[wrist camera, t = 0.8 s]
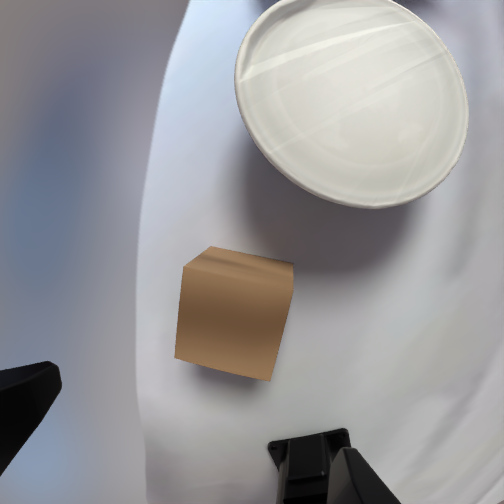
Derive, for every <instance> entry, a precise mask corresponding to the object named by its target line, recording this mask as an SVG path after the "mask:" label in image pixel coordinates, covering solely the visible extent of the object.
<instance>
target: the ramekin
mask: <svg viewBox="0 0 504 504" xmlns="http://www.w3.org/2000/svg"><path fill="white" fill-rule="evenodd" d="M234 83H235V94H236V100H237V104H238V108H239V111H240V114H241V117H242V119H243V122H244V124H245V126H246V128H247V130H248V132H249V134H250V136H251V137H252V139H253V141H254V142H255V144H256V145H257V147H258V148H259V150H260V151H261V152H262V154H263V155H264V156H265V157H266V158H267V160H268V161H269V162H270V163H271V164H272V165H273V166H274V167H275V168H276V169H277V170H278V171H279V172H280V173H282V174H283V175H284V176H285V177H287V178H288V179H289V180H290V181H292V182H293V183H295V184H296V185H297V186H299V187H301V188H302V189H304V190H306V191H308V192H309V193H311V194H313V195H315V196H317V197H320V198H322V199H325V200H328V201H331V202H333V203H337V204H341V205H345V206H350V207H356V208H365V209H374V210H375V209H382V208H389V207H395V206H399V205H403V204H406V203H409V202H411V201H414V200H416V199H419V198H421V197H423V196H424V195H426V194H428V193H429V192H431V191H432V190H433V189H434V188H436V187H437V186H438V185H439V184H440V183H441V182H442V181H443V180H444V179H445V178H446V177H447V176H448V175H449V174H450V172H451V170H452V169H453V168H454V166H455V165H456V163H457V162H458V160H459V158H460V156H461V153H462V151H463V148H464V144H465V140H466V136H467V131H468V124H469V109H468V99H467V94H466V89H465V85H464V81H463V78H462V76H461V73H460V71H459V69H458V66H457V64H456V62H455V60H454V59H453V57H452V55H451V53H450V52H449V50H448V49H447V47H446V46H445V44H444V43H443V42H442V40H441V39H440V38H439V36H438V35H437V34H436V33H435V32H434V31H433V30H432V28H430V27H429V26H428V25H427V24H426V23H425V22H424V21H423V20H421V19H420V18H419V17H418V16H416V15H415V14H414V13H412V12H411V11H409V10H408V9H406V8H405V7H403V6H401V5H399V4H398V3H396V2H394V1H392V0H281V1H279V2H277V3H276V4H274V5H273V6H271V7H270V8H268V9H267V10H266V11H265V12H264V13H263V14H261V15H260V17H259V18H258V19H257V20H256V21H255V22H254V23H253V25H252V26H251V27H250V29H249V30H248V32H247V33H246V35H245V37H244V39H243V41H242V43H241V46H240V48H239V51H238V54H237V58H236V64H235V75H234Z"/></svg>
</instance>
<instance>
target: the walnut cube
mask: <svg viewBox="0 0 504 504" xmlns="http://www.w3.org/2000/svg"><path fill="white" fill-rule="evenodd" d="M292 294H293V263H289V262H284V261H279V260H274V259H269V258H265V257H260V256H255V255H250V254H246V253H241V252H236V251H231V250H226V249H222V248H217V247H212V246H211V247H209V248H208V249H207V250H205V251H204V252H203V253H201V254H200V255H198V256H197V257H196V258H194V259H193V260H192V261H190V262H189V263H188V264H186V265H185V266H184V267H183V275H182V284H181V293H180V302H179V312H178V322H177V333H176V345H175V358H176V359H180V360H183V361H187V362H190V363H194V364H198V365H201V366H205V367H209V368H213V369H217V370H221V371H225V372H229V373H233V374H237V375H242V376H246V377H251V378H256V379H260V380H265V381H270V379H271V376H272V372H273V369H274V365H275V361H276V357H277V354H278V350H279V346H280V342H281V338H282V335H283V331H284V327H285V323H286V319H287V315H288V311H289V307H290V303H291V298H292Z"/></svg>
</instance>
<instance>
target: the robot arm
mask: <svg viewBox="0 0 504 504" xmlns="http://www.w3.org/2000/svg"><path fill="white" fill-rule="evenodd" d="M61 388H62V381H61V377H60V371H59V367H58V366H57V365H55V364H54V363H52V362H50V361H44V362H40V363H35V364H31V365H26V366H21V367H16V368H11V369H5V370H0V476H1V475H2V473H3V472H4V471H5V469H6V468H7V466H8V465H9V464H10V462H11V461H12V459H13V458H14V457H15V456H16V454H17V453H18V452H19V450H20V449H21V448H22V446H23V445H24V444H25V442H26V441H27V440H28V438H29V437H30V436H31V434H32V433H33V432H34V430H35V429H36V428H37V427H38V425H39V424H40V423H41V421H42V420H43V418H44V417H45V415H46V413H47V412H48V410H49V409H50V407H51V405H52V404H53V402H54V400H55V399H56V397H57V396H58V394H59V393H60V391H61ZM273 446H274V447H273ZM268 450H269V452H270V455H271V457H272V459H273V461H274V463H275V465H276V467H277V469H278V471H279V481H278V491H277V501H276V504H401V503H400V501H399V500H398V499H397V498H396V497H395V496H394V494H393V493H392V492H391V491H390V490H389V488H388V487H387V486H386V485H385V484H384V482H383V481H382V480H381V479H380V478H379V476H378V475H377V474H376V473H375V471H374V470H373V469H372V468H371V467H370V465H369V464H368V463H367V462H366V460H365V459H364V458H363V457H362V455H361V454H360V453H359V452H358V451H357V449H355V448H351V444H350V438H349V433H348V430H347V429H345V428H341V429H337V430H332V431H328V432H323V433H319V434H314V435H308V436H303V437H297V438H291V439H285V440H279V441H272V442H270V443H269V444H268Z"/></svg>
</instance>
